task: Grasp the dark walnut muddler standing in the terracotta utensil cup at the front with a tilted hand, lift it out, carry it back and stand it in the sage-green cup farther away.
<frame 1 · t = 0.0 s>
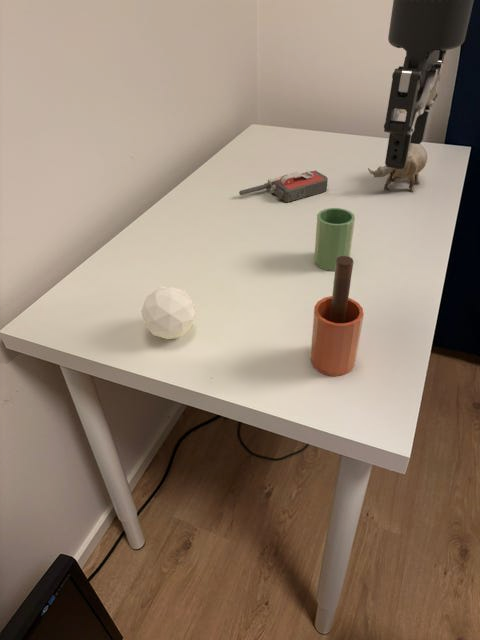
hand: (404, 154, 58), 26 cm above the table, tool pointing down, fingers open, 8 cm apart
green cup: (331, 261, 88), on the table
rhinoceros figurine: (398, 187, 111), on the table
geometric ball: (172, 332, 74), on the table
walkie-talkie: (285, 194, 110), on the table
terracotta cup: (332, 360, 68), on the table
muddler: (333, 357, 68), point 1 cm above the table, touching terracotta cup
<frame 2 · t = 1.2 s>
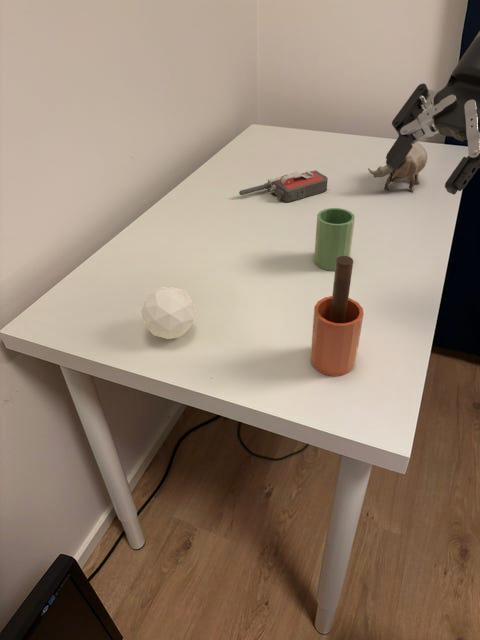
hand: (418, 178, 58), 24 cm above the table, tool tilted 45°, fingers open, 8 cm apart
nothing on the table moved.
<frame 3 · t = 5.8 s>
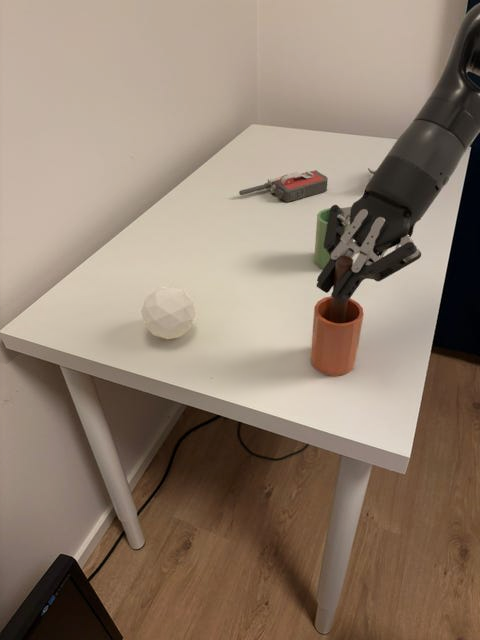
hand: (329, 294, 59), 13 cm above the table, tool tilted 45°, fingers closed on muddler, 2 cm apart
muddler: (332, 357, 68), point 1 cm above the table, touching gripper
everything else where it was.
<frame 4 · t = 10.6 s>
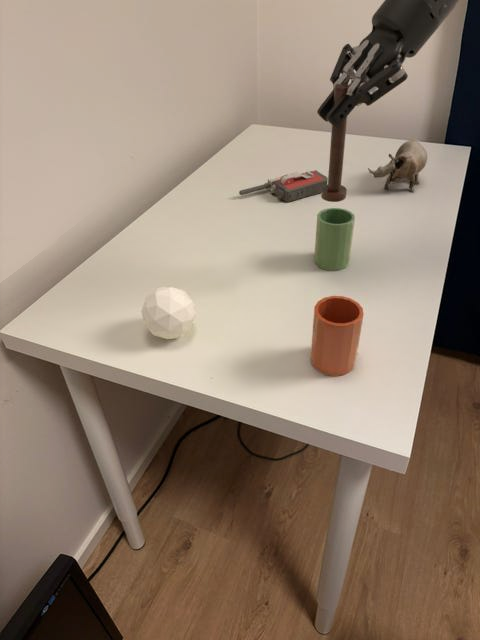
hand: (326, 119, 67), 26 cm above the table, tool tilted 45°, fingers closed on muddler
muddler: (333, 196, 75), point 15 cm above the table, touching gripper
everything else where it was.
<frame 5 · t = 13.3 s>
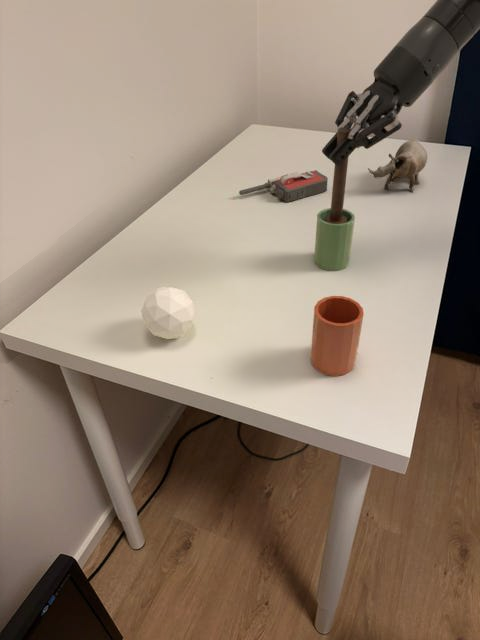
hand: (329, 158, 75), 19 cm above the table, tool tilted 45°, fingers closed on muddler
muddler: (335, 224, 83), point 7 cm above the table, touching gripper
everything else where it was.
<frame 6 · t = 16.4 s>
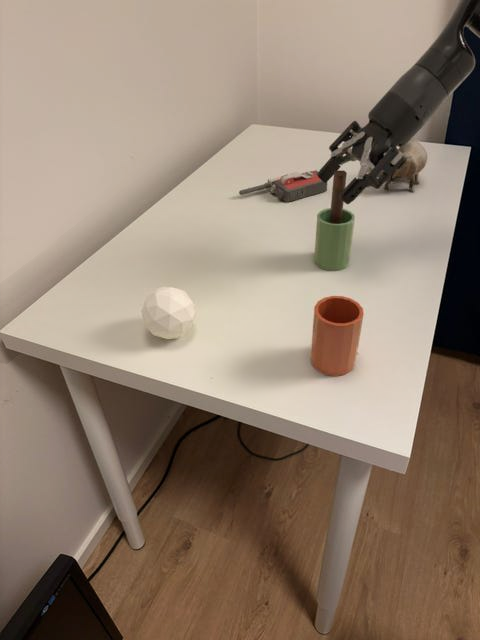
hand: (331, 189, 78), 14 cm above the table, tool tilted 45°, fingers open, 8 cm apart
muddler: (331, 258, 87), point 1 cm above the table, touching green cup
everything else where it was.
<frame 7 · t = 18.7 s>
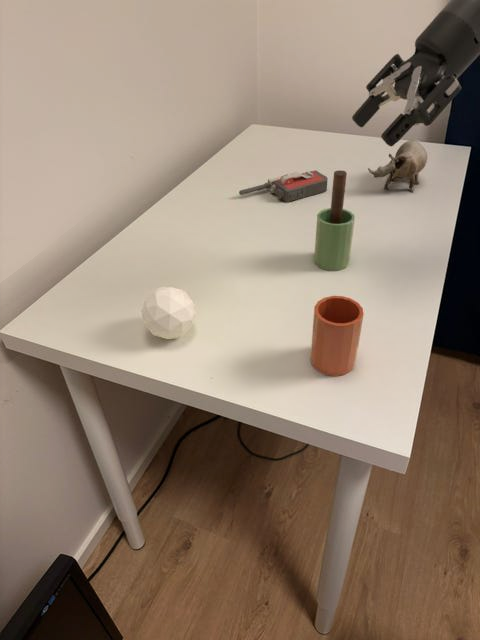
hand: (370, 132, 68), 25 cm above the table, tool tilted 45°, fingers open, 8 cm apart
nothing on the table moved.
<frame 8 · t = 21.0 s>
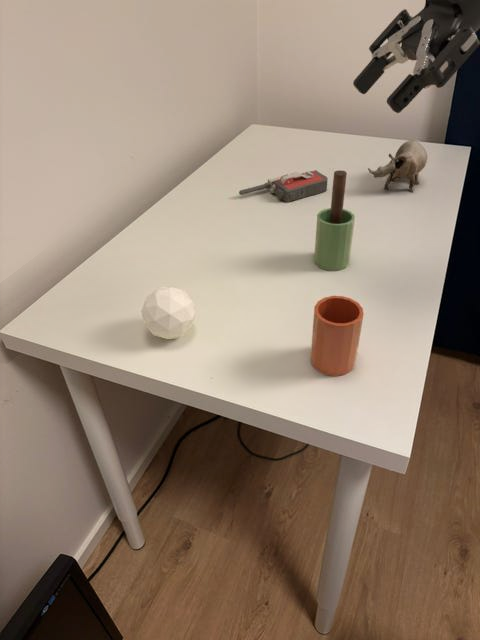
hand: (373, 98, 60), 31 cm above the table, tool tilted 45°, fingers open, 8 cm apart
nothing on the table moved.
at the end: muddler 0.1 cm off-centre in the green cup, point 0.6 cm above the green cup's base; muddler tilted 0°; the gripper is holding nothing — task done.
